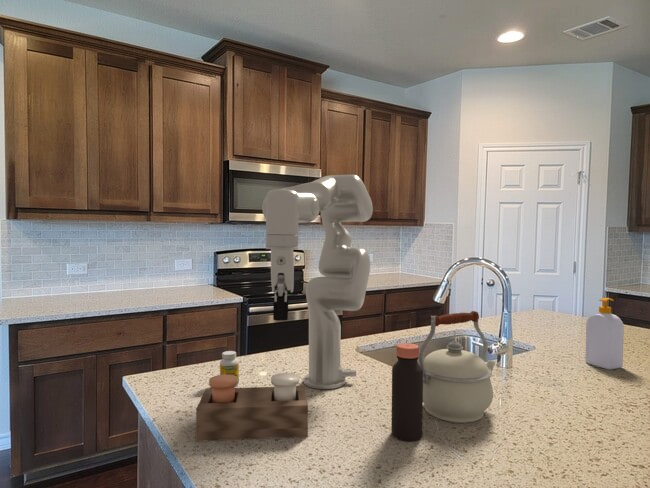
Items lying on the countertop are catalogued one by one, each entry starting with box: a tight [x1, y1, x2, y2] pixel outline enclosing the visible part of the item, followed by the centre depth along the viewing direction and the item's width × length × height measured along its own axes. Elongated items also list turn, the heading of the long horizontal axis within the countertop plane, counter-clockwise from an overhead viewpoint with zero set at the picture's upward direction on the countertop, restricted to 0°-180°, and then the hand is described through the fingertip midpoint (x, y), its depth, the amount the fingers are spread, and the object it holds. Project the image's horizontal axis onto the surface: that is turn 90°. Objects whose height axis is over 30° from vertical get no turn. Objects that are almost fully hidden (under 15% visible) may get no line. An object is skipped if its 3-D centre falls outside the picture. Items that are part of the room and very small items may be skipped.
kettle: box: [418, 310, 496, 424], centre depth 110 cm, size 25×18×25 cm
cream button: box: [270, 372, 300, 401], centre depth 101 cm, size 6×6×6 cm
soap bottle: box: [584, 297, 625, 371], centre depth 149 cm, size 9×7×23 cm
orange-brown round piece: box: [208, 374, 239, 403], centre depth 100 cm, size 6×6×6 cm
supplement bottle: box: [219, 350, 240, 388], centre depth 128 cm, size 5×5×10 cm
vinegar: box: [390, 342, 424, 442], centre depth 97 cm, size 7×7×20 cm
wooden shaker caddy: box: [195, 385, 309, 442], centre depth 101 cm, size 24×12×7 cm, turn 96°
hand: (281, 316), depth 102 cm, fingers open, 9 cm apart
